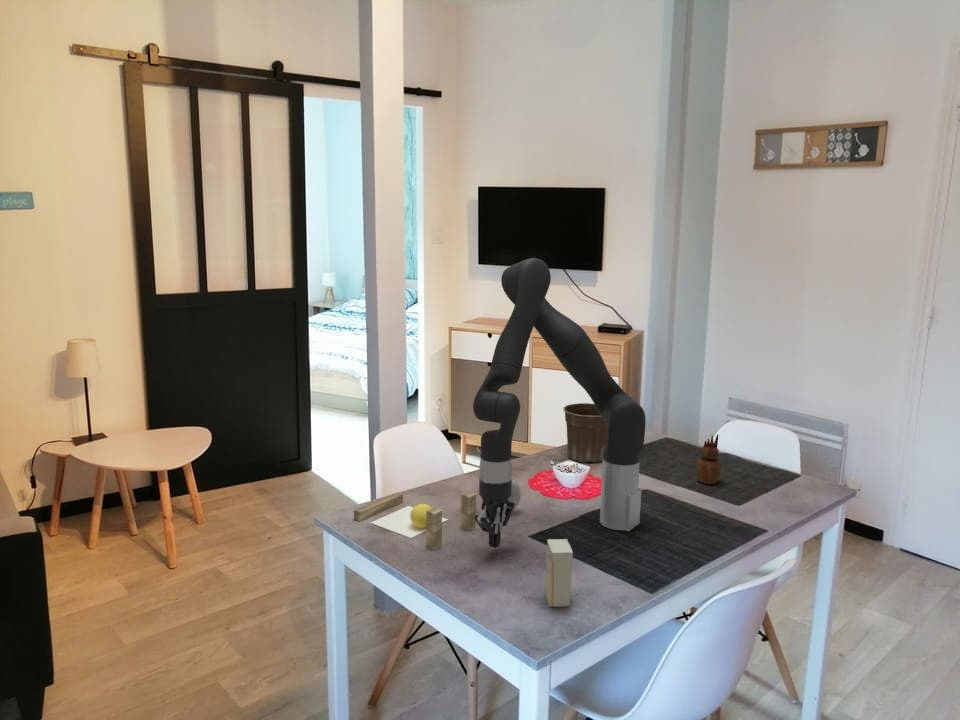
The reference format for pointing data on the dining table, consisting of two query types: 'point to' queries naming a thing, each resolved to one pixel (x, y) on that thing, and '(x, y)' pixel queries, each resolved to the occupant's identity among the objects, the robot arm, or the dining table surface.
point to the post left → (434, 528)
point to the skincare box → (558, 572)
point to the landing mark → (401, 523)
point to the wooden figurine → (709, 463)
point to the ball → (419, 515)
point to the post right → (468, 511)
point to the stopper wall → (378, 506)
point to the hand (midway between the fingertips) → (494, 546)
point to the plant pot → (585, 432)
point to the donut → (515, 494)
